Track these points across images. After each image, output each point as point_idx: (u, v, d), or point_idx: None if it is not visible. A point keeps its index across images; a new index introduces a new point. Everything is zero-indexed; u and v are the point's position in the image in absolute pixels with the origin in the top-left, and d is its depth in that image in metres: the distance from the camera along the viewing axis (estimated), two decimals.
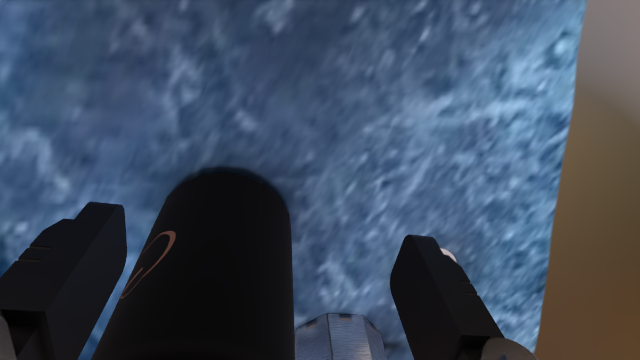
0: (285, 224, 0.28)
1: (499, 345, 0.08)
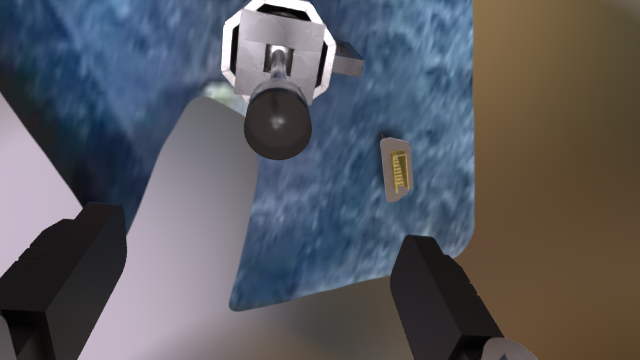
0: None
1: (499, 345, 0.08)
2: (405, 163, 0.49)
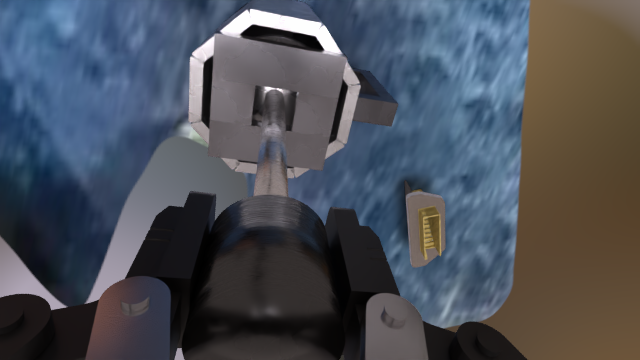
0: None
1: (384, 299, 0.08)
2: (438, 224, 0.38)
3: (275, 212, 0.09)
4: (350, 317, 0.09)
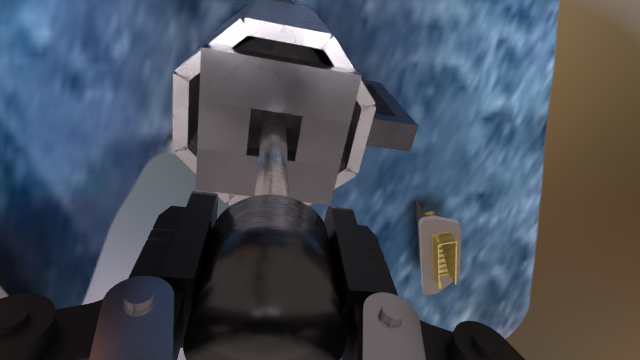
0: None
1: (381, 299, 0.08)
2: (453, 251, 0.35)
3: (276, 212, 0.09)
4: (347, 317, 0.09)
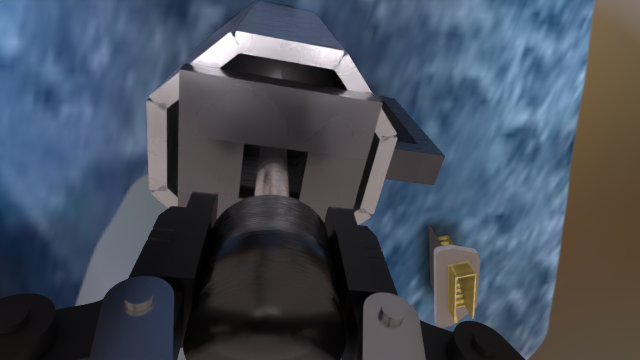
0: None
1: (381, 299, 0.08)
2: (472, 283, 0.32)
3: (276, 212, 0.09)
4: (347, 317, 0.09)
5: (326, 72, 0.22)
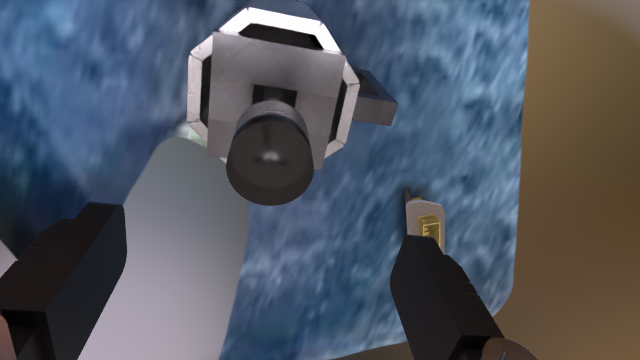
0: None
1: (499, 345, 0.08)
2: (437, 232, 0.39)
3: (275, 107, 0.16)
4: None
5: None
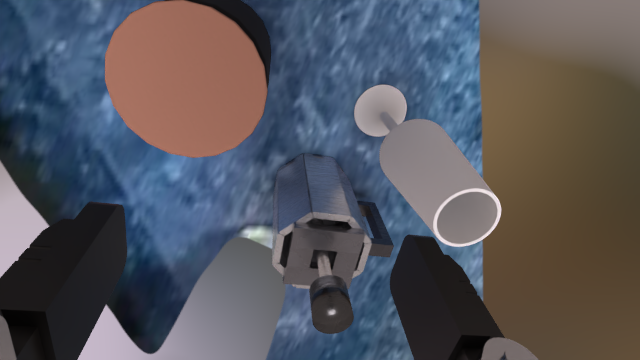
0: (265, 32, 0.38)
1: (499, 345, 0.08)
2: None
3: (332, 281, 0.32)
4: None
5: None
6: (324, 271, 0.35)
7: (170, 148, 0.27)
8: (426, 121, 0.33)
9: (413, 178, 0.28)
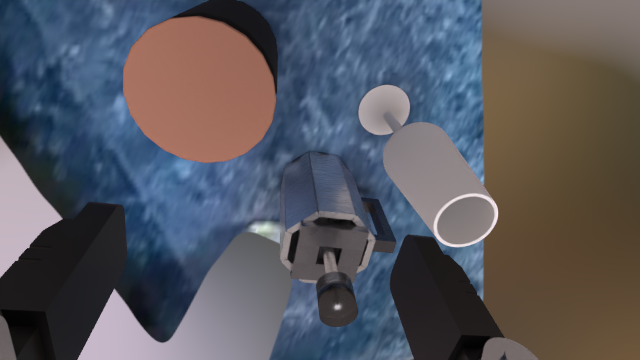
0: (272, 36, 0.39)
1: (499, 345, 0.08)
2: None
3: (338, 278, 0.34)
4: None
5: None
6: (330, 268, 0.37)
7: (184, 154, 0.29)
8: (428, 124, 0.34)
9: (415, 181, 0.30)
